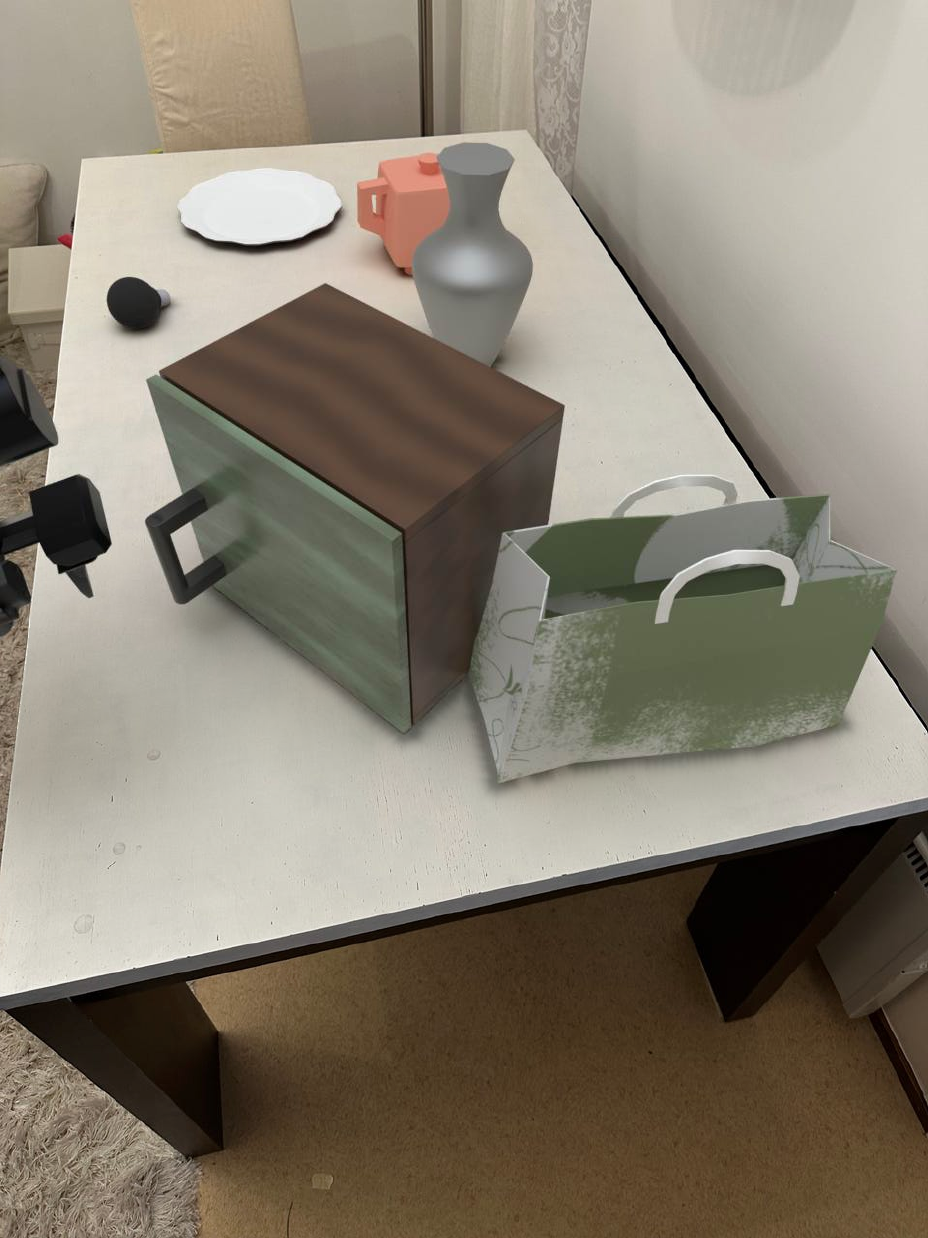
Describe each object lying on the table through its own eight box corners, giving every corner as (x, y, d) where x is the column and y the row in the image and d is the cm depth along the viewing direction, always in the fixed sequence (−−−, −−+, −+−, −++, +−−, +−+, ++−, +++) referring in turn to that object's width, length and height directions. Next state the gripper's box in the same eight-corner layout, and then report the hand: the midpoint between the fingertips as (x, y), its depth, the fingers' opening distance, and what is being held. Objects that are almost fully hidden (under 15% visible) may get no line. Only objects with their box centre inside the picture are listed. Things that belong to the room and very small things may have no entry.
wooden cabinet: (413, 726, 74) (405, 529, 56) (220, 578, 85) (158, 370, 66) (536, 609, 83) (565, 404, 64) (348, 488, 94) (325, 282, 75)
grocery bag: (774, 615, 84) (865, 428, 66) (840, 733, 76) (965, 554, 58) (460, 663, 80) (466, 475, 62) (493, 793, 71) (511, 619, 53)
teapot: (488, 226, 133) (493, 129, 122) (516, 265, 125) (523, 166, 114) (352, 244, 128) (344, 145, 117) (372, 286, 121) (365, 184, 110)
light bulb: (181, 271, 114) (130, 278, 106) (190, 321, 117) (141, 332, 108) (143, 272, 116) (90, 279, 108) (152, 321, 119) (102, 331, 111)
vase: (545, 353, 111) (567, 152, 92) (482, 406, 104) (492, 200, 84) (457, 316, 116) (461, 119, 97) (391, 364, 109) (381, 160, 89)
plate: (217, 172, 143) (215, 160, 141) (360, 189, 140) (359, 177, 139) (154, 243, 127) (150, 230, 126) (313, 263, 124) (312, 251, 123)
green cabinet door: (361, 775, 71) (333, 586, 52) (166, 615, 82) (86, 410, 63) (411, 727, 74) (402, 532, 56) (218, 578, 85) (156, 373, 66)
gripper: (-256, 656, 48) (-77, 750, 61) (65, 537, 50) (169, 653, 63) (-252, 511, 53) (-88, 627, 67) (39, 409, 55) (140, 542, 69)
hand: (33, 614), depth 66 cm, fingers open, 9 cm apart
